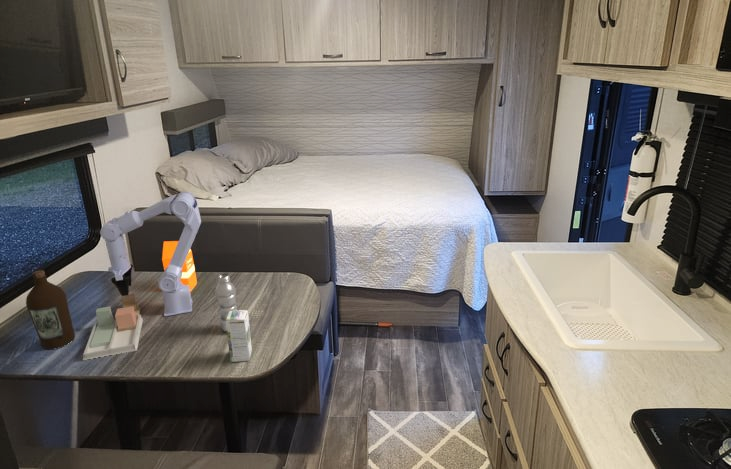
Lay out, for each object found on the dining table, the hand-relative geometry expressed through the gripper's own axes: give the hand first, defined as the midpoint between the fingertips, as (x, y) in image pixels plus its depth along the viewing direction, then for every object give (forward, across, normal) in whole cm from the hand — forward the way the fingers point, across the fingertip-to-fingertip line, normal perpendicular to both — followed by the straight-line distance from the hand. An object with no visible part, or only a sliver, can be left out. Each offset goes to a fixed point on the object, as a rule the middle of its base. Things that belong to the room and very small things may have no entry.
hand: (126, 290), depth 167 cm
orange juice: (+10, -16, +17) cm, 25 cm away
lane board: (+10, +16, -4) cm, 19 cm away
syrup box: (+10, +40, +35) cm, 54 cm away
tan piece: (+9, +6, 0) cm, 10 cm away
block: (+8, +10, 0) cm, 13 cm away
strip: (+9, +13, -7) cm, 17 cm away
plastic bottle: (+10, +24, +33) cm, 42 cm away
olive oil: (+10, +10, -21) cm, 25 cm away
